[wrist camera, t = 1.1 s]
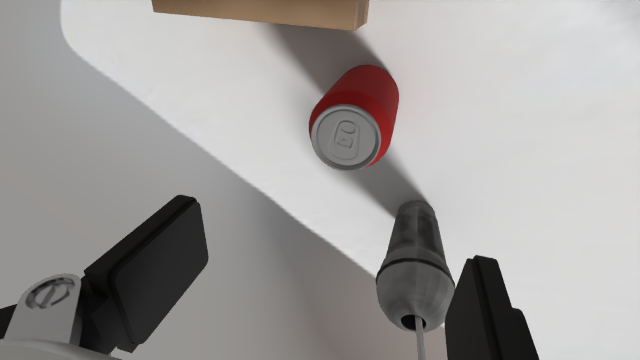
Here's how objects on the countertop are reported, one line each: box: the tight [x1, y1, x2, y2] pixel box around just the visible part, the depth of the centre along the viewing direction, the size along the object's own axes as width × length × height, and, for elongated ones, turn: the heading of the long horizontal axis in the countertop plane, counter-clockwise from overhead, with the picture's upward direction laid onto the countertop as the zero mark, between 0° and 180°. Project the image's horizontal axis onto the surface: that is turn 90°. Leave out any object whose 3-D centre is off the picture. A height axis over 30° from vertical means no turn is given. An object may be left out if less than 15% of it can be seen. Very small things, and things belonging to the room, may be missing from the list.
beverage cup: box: [376, 201, 455, 360], centre depth 31 cm, size 7×7×20 cm
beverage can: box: [309, 65, 399, 171], centre depth 29 cm, size 7×7×12 cm
